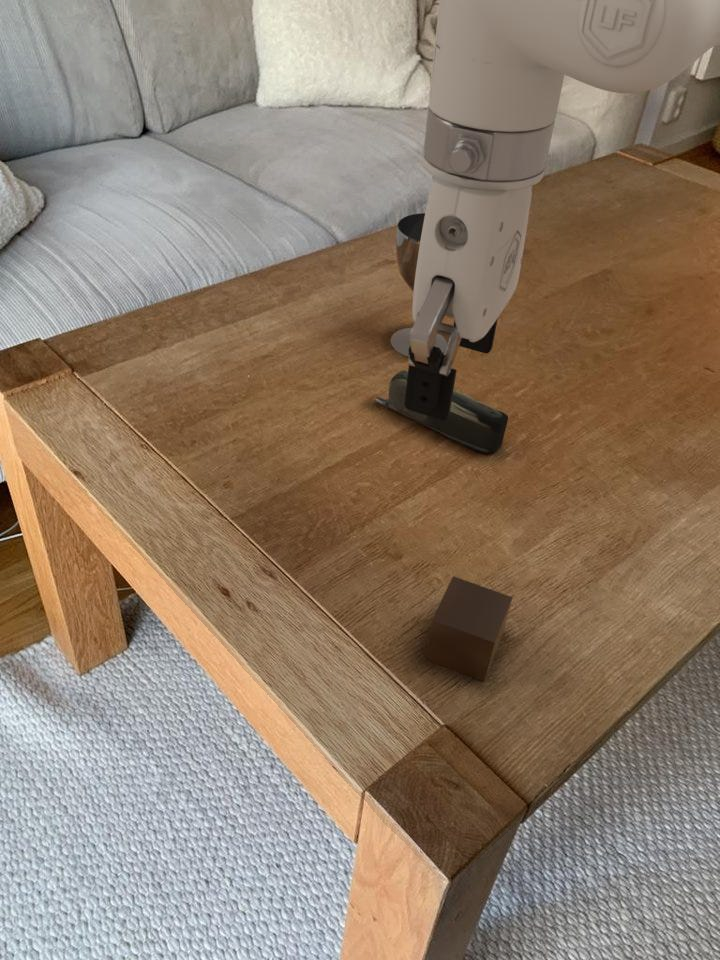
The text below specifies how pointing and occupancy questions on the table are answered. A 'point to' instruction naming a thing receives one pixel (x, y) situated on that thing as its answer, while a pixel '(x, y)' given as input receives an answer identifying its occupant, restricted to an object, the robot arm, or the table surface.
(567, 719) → the table surface
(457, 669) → the walnut block
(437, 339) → the wine glass
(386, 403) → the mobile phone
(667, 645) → the table surface
